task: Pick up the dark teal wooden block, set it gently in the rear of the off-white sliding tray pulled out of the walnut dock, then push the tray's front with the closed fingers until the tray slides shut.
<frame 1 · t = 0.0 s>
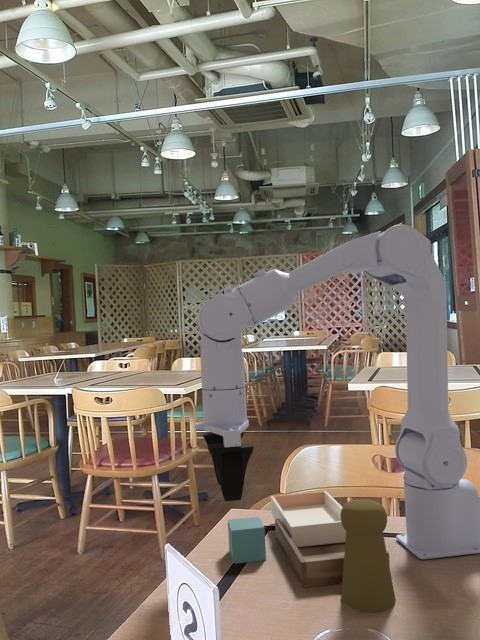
hand: (229, 491, 75), 10 cm above the table, fingers open, 7 cm apart
dock: (326, 555, 78), on the table
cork: (368, 600, 65), on the table
tray: (310, 516, 86), point 3 cm above the table, slide at 8.0 cm
teal block: (247, 556, 79), on the table
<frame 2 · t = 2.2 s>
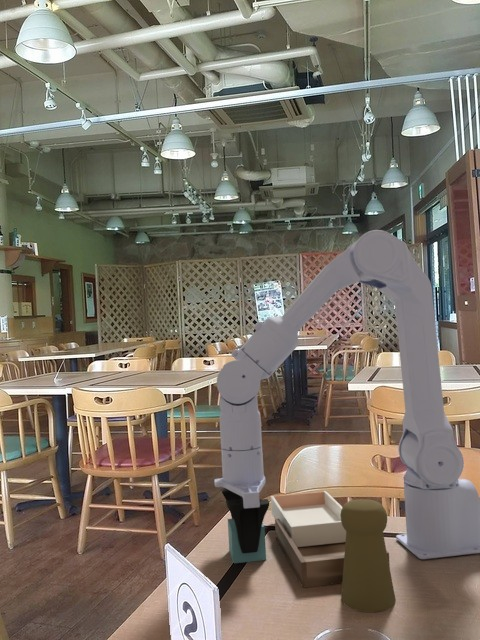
hand: (246, 544, 79), 1 cm above the table, fingers closed on teal block, 4 cm apart
teal block: (247, 555, 79), on the table, touching gripper
everything else where it was.
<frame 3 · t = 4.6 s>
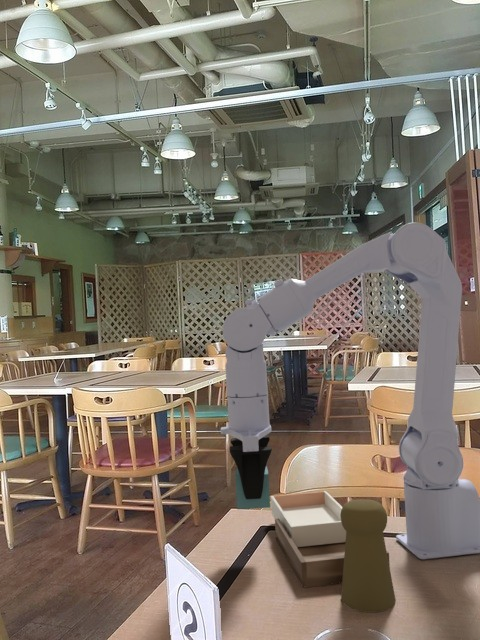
hand: (253, 492, 80), 8 cm above the table, fingers closed on teal block, 4 cm apart
teal block: (253, 503, 80), point 7 cm above the table, touching gripper
everything else where it was.
when the fingers open (5 cm above the table, at t = 7.2 s): teal block drops 1 cm, resting on tray.
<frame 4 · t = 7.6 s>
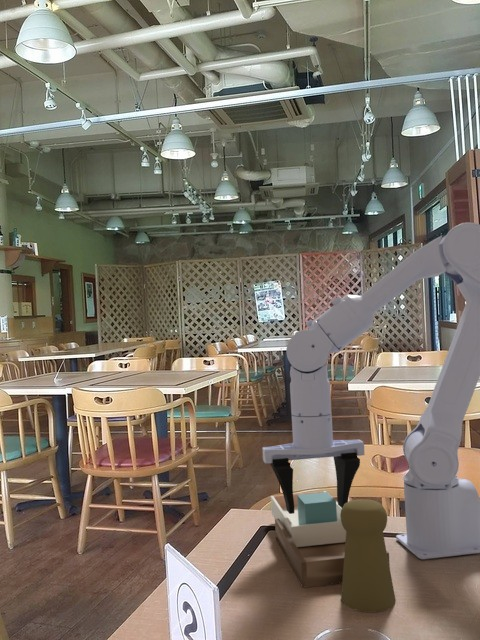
hand: (316, 508, 82), 5 cm above the table, fingers open, 7 cm apart
tray: (310, 516, 86), point 3 cm above the table, slide at 8.0 cm, touching teal block
teal block: (317, 529, 82), point 2 cm above the table, touching tray
everything else where it was.
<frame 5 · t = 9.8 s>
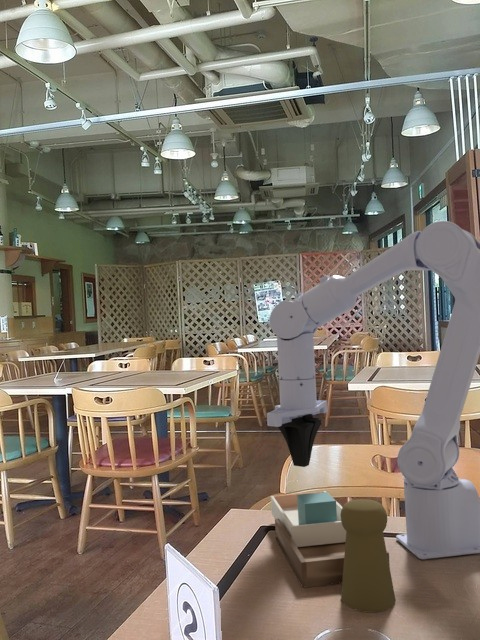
hand: (301, 465, 89), 10 cm above the table, fingers closed
nothing on the table moved.
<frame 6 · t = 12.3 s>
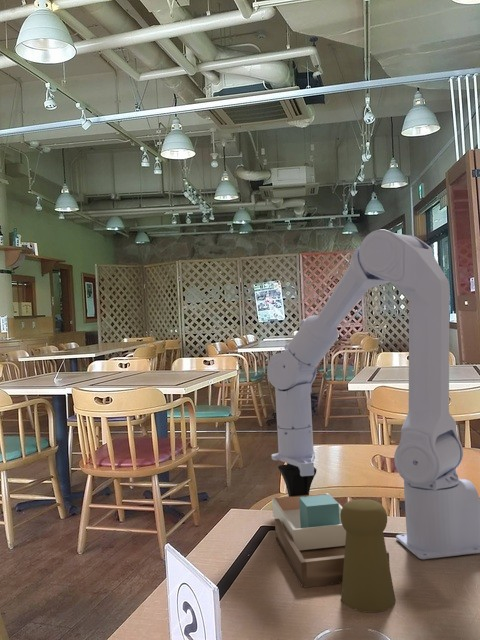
hand: (299, 509, 93), 1 cm above the table, fingers closed
tray: (312, 519, 84), point 3 cm above the table, slide at 6.8 cm, touching gripper, teal block
teal block: (320, 532, 81), point 2 cm above the table, touching tray
everything else where it was.
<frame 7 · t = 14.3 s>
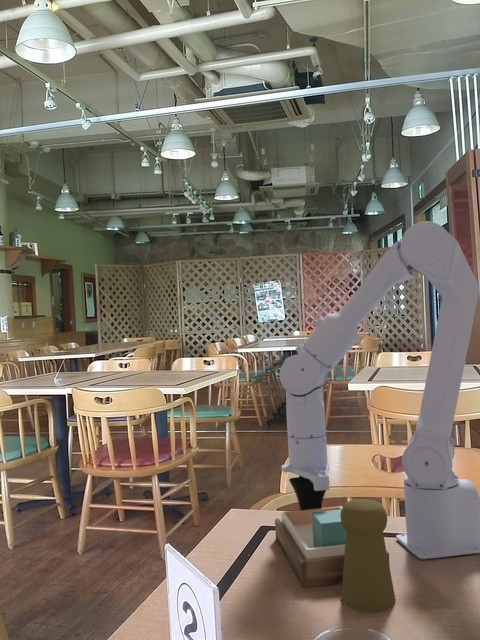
hand: (311, 525, 85), 1 cm above the table, fingers closed, pressing on tray
tray: (326, 536, 77), point 3 cm above the table, slide at -0.3 cm, touching gripper, teal block
teal block: (335, 551, 74), point 2 cm above the table, touching tray
everything else where it was.
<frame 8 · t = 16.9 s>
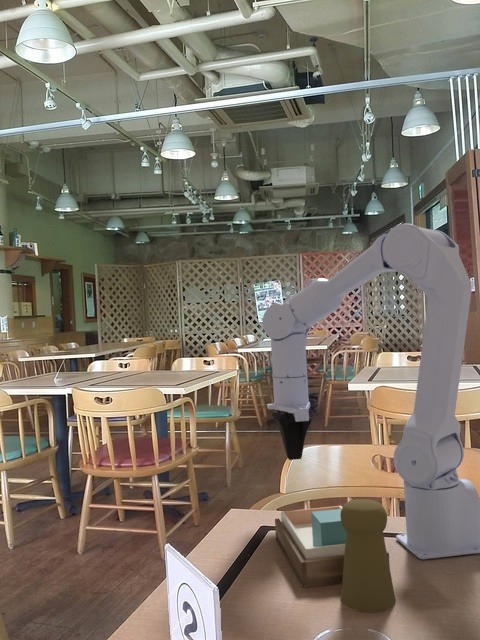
hand: (294, 458, 95), 9 cm above the table, fingers closed
tray: (325, 535, 78), point 3 cm above the table, slide at 0.0 cm, touching teal block
everything else where it was.
at the end: tray slide at 0.0 cm; teal block inside the target area on the dock (3.5 cm from its centre), point 2.1 cm above the dock's base; teal block tilted 0° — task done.
